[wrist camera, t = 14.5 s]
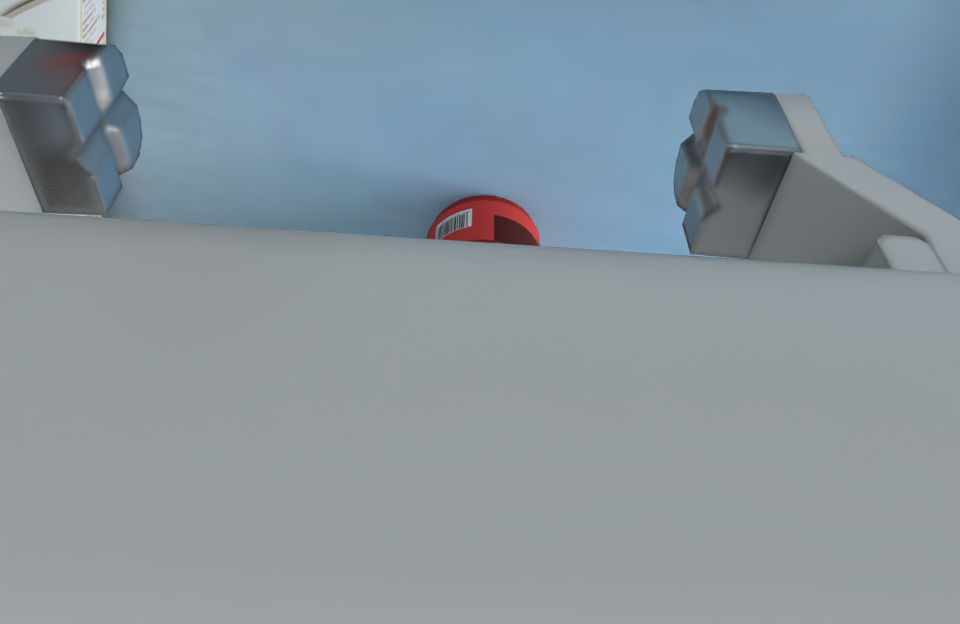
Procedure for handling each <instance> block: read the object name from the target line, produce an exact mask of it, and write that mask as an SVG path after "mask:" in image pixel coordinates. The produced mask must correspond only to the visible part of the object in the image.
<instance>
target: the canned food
mask: <svg viewBox="0 0 960 624" xmlns="http://www.w3.org/2000/svg"><path fill="white" fill-rule="evenodd" d="M426 239H439V240H454V241H469V242H485V243H500V244H515V245H531V246H540V243H539V235H538V232H537V229H536V227H535V225H534V223H533V222H532V220H531V218H530V217H529V215H528V214H527V213H526V212H525V211H524V210H523V209H522V208H521V207H520V206H518V205H517V204H515V203H513V202H511V201H509V200H506V199H504V198H499V197H495V196H474V197H469V198H466V199H462V200H460V201H457V202H455V203H453V204H451V205H450V206H449V207H447V208H446V209H444V210H443V211H442V212H441V213H440V215H439V216H438V217H437V218H436V220H435V222H434V223H433V225H432V227H431V228H430V230H429V232H428V235H427V238H426Z"/></svg>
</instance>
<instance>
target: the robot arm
mask: <svg viewBox="0 0 960 624" xmlns="http://www.w3.org/2000/svg"><path fill="white" fill-rule="evenodd" d="M128 77H129V74H128V71H127V68H126V64H125V61H124V58H123V54H122V53H121V52H120V51H119V50H118V48H117V47H116V46H115V45H108V44H97V43H86V42H76V41H65V40H54V39H44V38H43V39H40V38H38V37H25V36H0V624H960V219H958V218H956V217H955V216H953V215H951V214H950V213H948V212H946V211H945V210H943V209H941V208H939V207H938V206H936V205H934V204H933V203H931V202H929V201H928V200H926V199H924V198H922V197H921V196H919V195H917V194H916V193H914V192H912V191H911V190H909V189H907V188H905V187H904V186H902V185H900V184H899V183H897V182H895V181H893V180H892V179H890V178H888V177H887V176H885V175H883V174H882V173H880V172H878V171H876V170H875V169H873V168H871V167H870V166H868V165H866V164H865V163H863V162H861V161H859V160H858V159H856V158H854V157H852V156H842V155H841V153H840V151H839V149H838V148H837V146H836V144H835V142H834V140H833V139H832V137H831V135H830V133H829V131H828V130H827V128H826V126H825V124H824V123H823V121H822V119H821V117H820V115H819V114H818V112H817V110H816V108H815V106H814V105H813V103H812V101H811V99H810V98H809V97H807V96H805V95H800V94H773V93H764V92H744V91H724V90H702V91H699V93H698V95H697V97H696V99H695V101H694V103H693V106H692V109H691V113H690V116H689V119H690V122H691V125H692V128H693V132H694V133H693V134H692V135H691V136H690V137H688V138H687V139H686V140H685V141H684V142H683V143H682V144H681V146H680V149H679V153H678V157H677V161H676V165H675V174H674V194H675V199H676V203H677V206H679V207H680V208H681V209H682V210H684V211H685V212H686V215H685V218H684V221H683V224H682V225H683V229H684V232H685V236H686V240H687V243H688V247H689V250H690V254H696V255H707V256H718V257H729V258H715V257H700V256H684V255H669V254H654V253H638V252H623V251H608V250H592V249H577V248H562V247H546V246H531V245H515V244H500V243H485V242H469V241H454V240H439V239H424V238H409V237H393V236H378V235H363V234H348V233H333V232H318V231H302V230H287V229H272V228H257V227H242V226H226V225H211V224H196V223H181V222H166V221H151V220H135V219H120V218H105V217H90V216H75V215H60V214H78V215H103V216H106V215H107V213H108V212H109V210H110V208H111V206H112V205H113V203H114V201H115V199H116V198H117V196H118V194H119V192H120V190H121V189H122V183H121V180H120V177H119V175H121V174H123V173H125V172H127V171H129V170H130V169H132V168H133V167H134V165H135V163H136V161H137V159H138V157H139V155H140V148H141V142H142V129H141V120H140V116H139V112H138V108H137V105H136V104H135V103H134V102H133V101H132V100H131V99H130V98H129V96H128V95H127V94H126V93H125V92H124V91H123V90H122V88H123V86H124V85H125V83H126V81H127V79H128ZM44 213H53V214H44ZM730 258H740V259H730ZM746 259H748V260H746Z"/></svg>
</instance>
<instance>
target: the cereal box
mask: <svg viewBox="0 0 960 624" xmlns="http://www.w3.org/2000/svg"><path fill="white" fill-rule="evenodd" d="M106 20H107V0H0V36H25V37H38V38H40V39H43V38H44V39H54V40H65V41H76V42H86V43H97V44H106ZM44 214H53V213H44ZM60 215H75V216H90V217H102V215H78V214H60Z"/></svg>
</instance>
